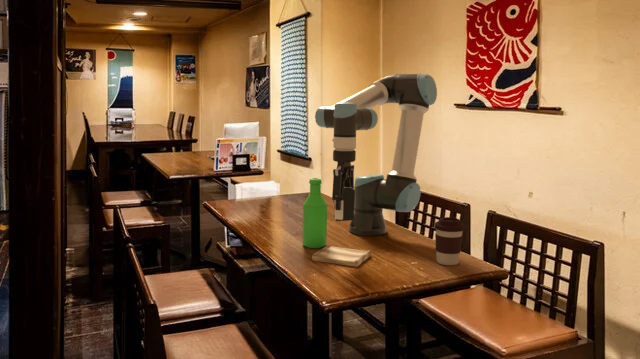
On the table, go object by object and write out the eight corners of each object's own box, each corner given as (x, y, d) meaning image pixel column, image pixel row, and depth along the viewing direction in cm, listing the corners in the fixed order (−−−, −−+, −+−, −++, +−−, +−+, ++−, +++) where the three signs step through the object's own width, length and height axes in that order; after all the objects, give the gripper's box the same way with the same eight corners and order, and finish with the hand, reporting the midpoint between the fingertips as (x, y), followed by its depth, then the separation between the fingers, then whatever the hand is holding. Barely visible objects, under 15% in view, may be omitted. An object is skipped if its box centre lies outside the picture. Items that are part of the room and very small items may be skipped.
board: (328, 249, 207) (328, 244, 207) (370, 255, 201) (370, 250, 200) (312, 260, 194) (312, 254, 194) (356, 266, 188) (357, 261, 188)
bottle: (299, 247, 209) (300, 179, 205) (306, 241, 217) (306, 176, 213) (323, 249, 207) (324, 181, 203) (328, 243, 215) (330, 177, 211)
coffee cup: (426, 259, 197) (429, 217, 194) (451, 257, 200) (454, 215, 198) (442, 268, 188) (445, 223, 185) (468, 265, 191) (471, 221, 189)
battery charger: (350, 218, 198) (351, 185, 197) (354, 220, 195) (355, 187, 193) (331, 219, 196) (332, 186, 194) (335, 222, 192) (336, 188, 191)
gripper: (344, 146, 202) (343, 210, 206) (322, 151, 184) (321, 221, 188) (364, 147, 199) (362, 212, 203) (344, 153, 181) (342, 224, 185)
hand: (342, 216), depth 195 cm, fingers closed on battery charger, 7 cm apart
